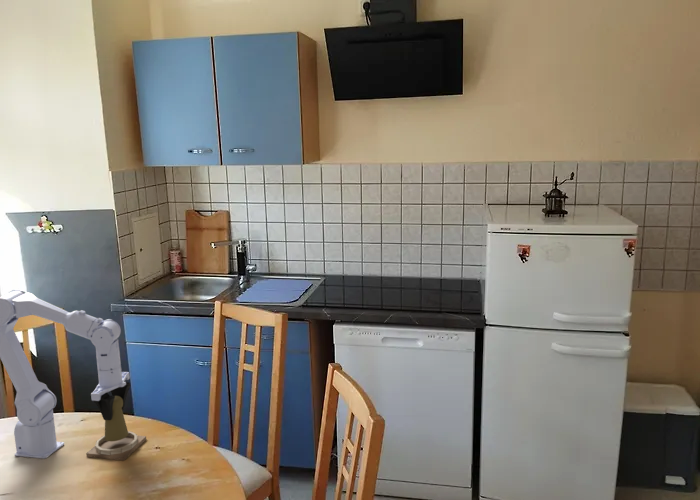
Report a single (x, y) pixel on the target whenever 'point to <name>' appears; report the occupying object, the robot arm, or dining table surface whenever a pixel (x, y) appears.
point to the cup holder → (116, 447)
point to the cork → (116, 422)
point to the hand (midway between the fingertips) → (114, 414)
